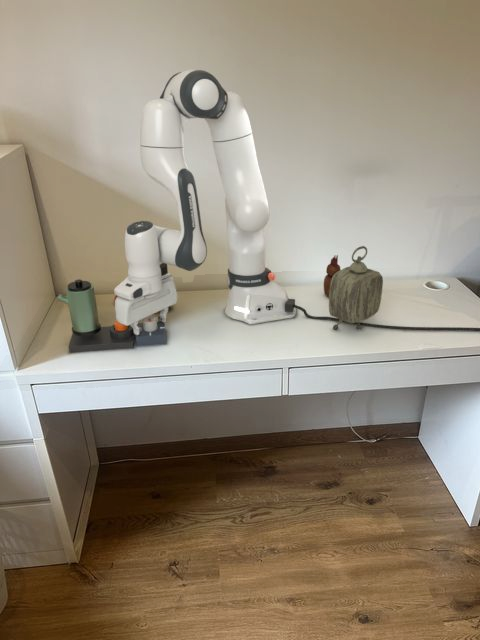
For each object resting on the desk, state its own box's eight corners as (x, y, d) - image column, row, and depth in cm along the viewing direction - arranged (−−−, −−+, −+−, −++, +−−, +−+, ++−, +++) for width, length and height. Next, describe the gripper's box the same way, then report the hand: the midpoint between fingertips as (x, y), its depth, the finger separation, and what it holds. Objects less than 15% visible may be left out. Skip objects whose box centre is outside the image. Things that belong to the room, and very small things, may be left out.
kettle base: (135, 330, 161) (133, 318, 159) (133, 348, 152) (132, 335, 150) (75, 334, 159) (72, 322, 157) (69, 353, 149) (67, 340, 147)
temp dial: (143, 326, 157) (141, 315, 155) (157, 324, 158) (156, 314, 156) (143, 332, 154) (142, 321, 152) (157, 331, 154) (156, 320, 153)
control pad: (165, 330, 162) (164, 320, 160) (166, 344, 154) (165, 334, 152) (137, 332, 160) (136, 322, 159) (136, 346, 153) (135, 336, 151)
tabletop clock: (356, 315, 171) (363, 238, 159) (380, 324, 166) (389, 245, 153) (326, 329, 162) (332, 249, 150) (350, 340, 157) (358, 257, 144)
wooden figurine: (341, 300, 182) (344, 257, 174) (323, 299, 182) (326, 256, 174) (338, 292, 188) (342, 250, 180) (322, 291, 188) (324, 250, 180)
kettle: (102, 319, 159) (95, 271, 151) (99, 335, 150) (91, 285, 143) (66, 321, 157) (57, 273, 150) (61, 338, 148) (51, 287, 141)
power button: (128, 325, 156) (127, 319, 155) (127, 331, 153) (127, 325, 152) (115, 326, 155) (114, 320, 155) (114, 332, 152) (113, 325, 151)
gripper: (164, 269, 158) (168, 312, 164) (109, 291, 143) (115, 337, 150) (180, 273, 155) (183, 317, 161) (125, 296, 140) (131, 344, 147)
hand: (150, 327), depth 155 cm, fingers open, 8 cm apart
